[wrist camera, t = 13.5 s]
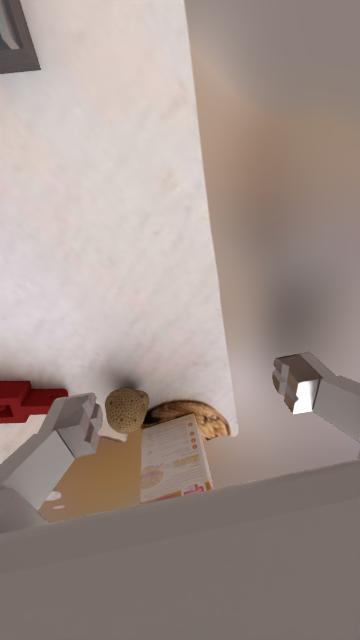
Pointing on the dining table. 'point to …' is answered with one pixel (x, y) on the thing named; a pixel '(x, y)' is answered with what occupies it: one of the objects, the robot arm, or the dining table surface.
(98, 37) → the dining table surface
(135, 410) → the natural sponge
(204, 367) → the dining table surface
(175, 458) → the coffeecake box
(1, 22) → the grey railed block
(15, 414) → the mechanical linkage
